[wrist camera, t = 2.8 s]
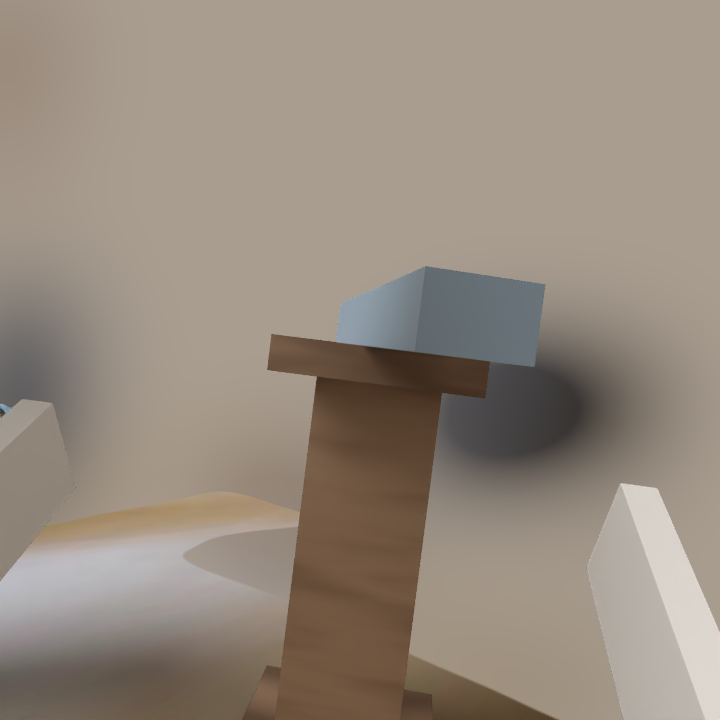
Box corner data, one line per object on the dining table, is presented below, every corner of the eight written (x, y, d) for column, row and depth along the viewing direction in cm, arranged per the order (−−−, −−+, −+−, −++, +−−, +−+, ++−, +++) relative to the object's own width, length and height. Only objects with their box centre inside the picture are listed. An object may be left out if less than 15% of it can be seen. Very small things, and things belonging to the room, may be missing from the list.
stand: (264, 688, 48) (307, 338, 47) (428, 718, 47) (474, 359, 46) (191, 855, 32) (254, 332, 31) (437, 907, 31) (508, 363, 30)
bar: (335, 342, 43) (340, 303, 43) (392, 349, 44) (397, 311, 44) (414, 351, 20) (425, 266, 20) (534, 366, 20) (545, 284, 20)
